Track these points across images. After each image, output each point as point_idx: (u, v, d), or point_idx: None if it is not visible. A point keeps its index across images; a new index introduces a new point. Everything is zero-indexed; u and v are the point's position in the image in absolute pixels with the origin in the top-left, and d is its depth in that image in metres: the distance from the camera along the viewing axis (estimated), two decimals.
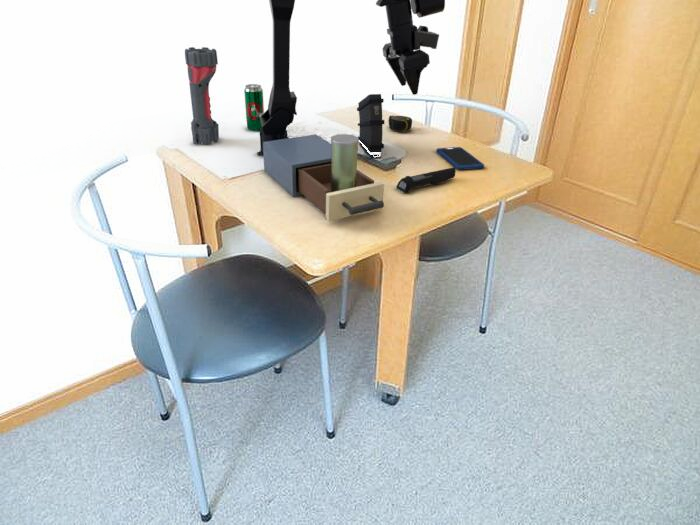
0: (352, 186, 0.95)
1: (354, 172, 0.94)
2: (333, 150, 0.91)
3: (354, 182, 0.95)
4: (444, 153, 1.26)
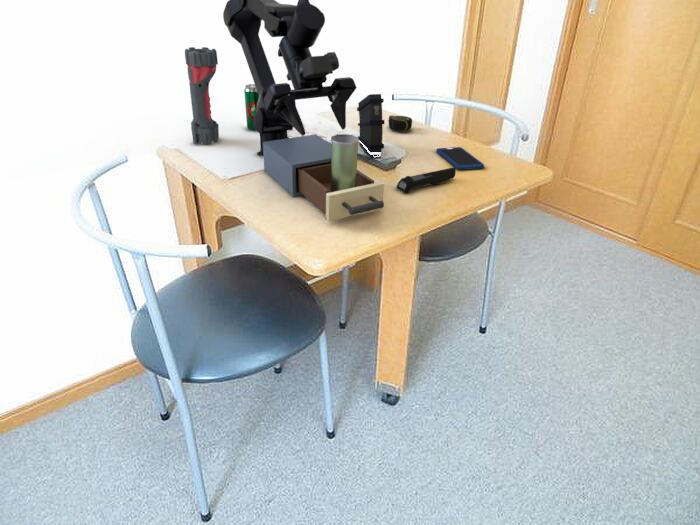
0: (352, 186, 0.95)
1: (354, 172, 0.94)
2: (333, 150, 0.91)
3: (354, 182, 0.95)
4: (444, 153, 1.26)
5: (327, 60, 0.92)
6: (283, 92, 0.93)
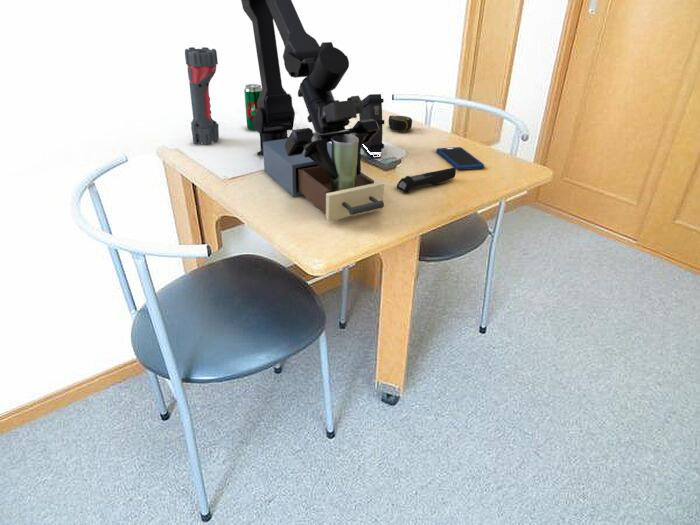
0: (352, 186, 0.95)
1: (354, 172, 0.94)
2: (333, 150, 0.91)
3: (354, 182, 0.95)
4: (444, 153, 1.26)
5: (351, 105, 0.89)
6: (305, 138, 0.89)
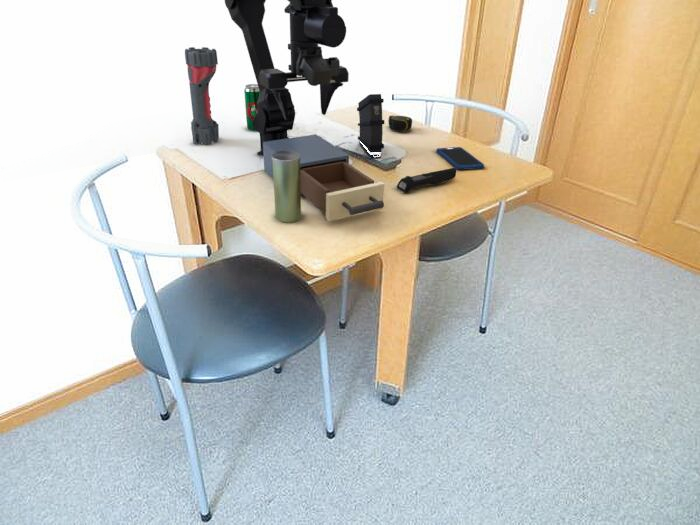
0: (292, 205, 0.91)
1: (294, 191, 0.90)
2: None
3: (295, 201, 0.91)
4: (444, 153, 1.26)
5: (328, 74, 0.97)
6: (279, 87, 0.98)
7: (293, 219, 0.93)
